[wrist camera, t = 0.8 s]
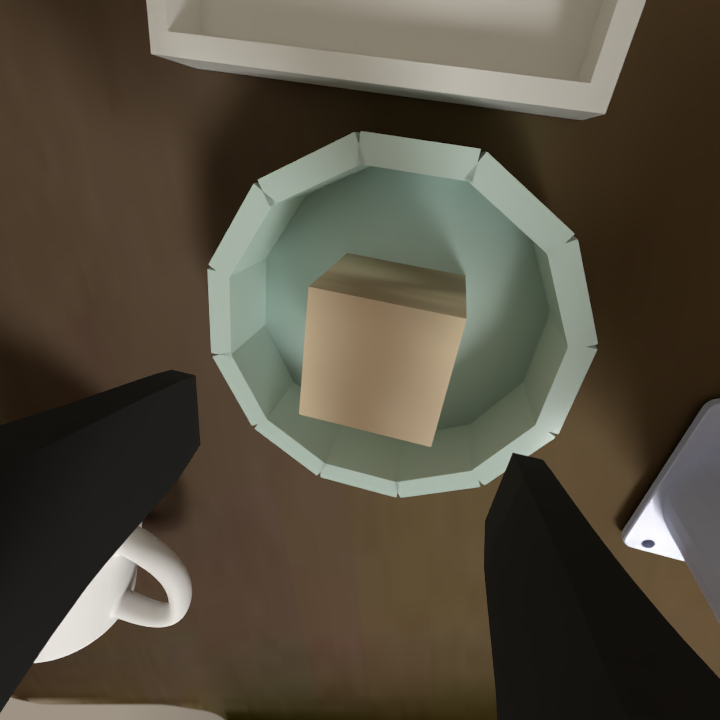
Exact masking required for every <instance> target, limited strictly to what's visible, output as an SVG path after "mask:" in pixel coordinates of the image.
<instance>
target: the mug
mask: <svg viewBox="0 0 720 720" xmlns="http://www.w3.org/2000/svg"><path fill="white" fill-rule="evenodd" d="M137 565H139V566H141V567H142V568H144V569H145V570H147V571H148V572H149V573H151V574H152V575H153V576H154V577H155V578H156V579H157V580H158V581H159V582H160V583H161V584H162V586H163V587H164V589H165V591H166V593H167V595H168V599H169V603H164V602H160V601H157V600H154V599H151V598H149V597H146V596H144V595H141V594H139V593H137V592H135V591H133V590H134V587H135V582H136V573H137ZM191 596H192V585H191V580H190V576H189V574H188V571H187V569H186V567H185V566H184V564H183V563H182V561H181V560H180V558H179V557H178V556H177V555H176V554H175V553H174V552H173V551H172V550H171V549H170V548H169V547H168V546H167V545H166V544H165V543H164V542H162V541H161V540H160V539H159V538H157V537H156V536H154V535H153V534H151V533H150V532H148V531H147V530H145V529H143V528H142V522H141V523H140V525H139V526H138V527H137V528H136V529H135V530H134V531H133V533H132V534H131V535H130V536H129V537H128V538H127V540H126V541H125V542H124V543H123V544H122V545H121V547H120V548H119V549H118V550H117V551H116V552H115V553H114V555H113V556H112V557H111V558H110V559H109V560H108V562H107V563H106V564H105V565H104V566H103V568H102V569H101V570H100V571H99V573H98V574H97V575H96V576H95V578H94V579H93V580H92V581H91V582H90V584H89V585H88V586H87V588H86V589H85V590H84V592H83V593H82V595H81V596H80V597H79V599H78V600H77V601H76V603H75V604H74V606H73V607H72V608H71V610H70V611H69V613H68V614H67V615H66V617H65V618H64V620H63V621H62V622H61V624H60V625H59V626H58V628H57V629H56V631H55V632H54V633H53V635H52V636H51V638H50V639H49V641H48V642H47V644H46V645H45V647H44V648H43V650H42V651H41V652H40V654H39V655H38V657H37V658H36V660H35V661H34V663H39V662H46V661H51V660H55V659H58V658H61V657H64V656H67V655H69V654H72V653H74V652H76V651H78V650H80V649H82V648H84V647H85V646H87V645H89V644H90V643H92V642H93V641H95V640H96V639H97V638H99V637H100V636H101V635H102V634H104V633H105V632H106V631H107V630H108V629H109V628H110V627H111V626H112V625H113V624H114V623H115V622H116V620H117V619H118V618H119V619H121V620H124V621H127V622H130V623H134V624H137V625H142V626H147V627H167V626H170V625H173V624H175V623H177V622H178V621H180V620H181V619H182V618H183V616H184V615H185V614H186V612H187V610H188V608H189V605H190V602H191Z"/></svg>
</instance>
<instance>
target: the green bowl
mask: <svg viewBox="0 0 720 720" xmlns="http://www.w3.org/2000/svg"><path fill="white" fill-rule="evenodd" d="M480 151H481V149H479V148H472V147H466V146H459V145H452V144H445V143H439V142H432V141H425V140H418V139H412V138H405V137H398V136H392V135H385V134H378V133H371V132H365V131H361V132H360V133H358V132H353V133H351V134H349V135H347V136H345V137H343V138H341V139H339V140H337V141H335V142H333V143H331V144H329V145H327V146H325V147H323V148H321V149H319V150H317V151H315V152H313V153H311V154H309V155H307V156H305V157H303V158H300V159H298V160H296V161H294V162H292V163H290V164H288V165H286V166H284V167H282V168H280V169H278V170H276V171H274V172H272V173H270V174H268V175H266V176H264V177H262V178H260V179H258V182H259V183H254V184H253V185H252V187H251V189H250V191H249V193H248V194H247V196H246V198H245V200H244V202H243V203H242V205H241V207H240V209H239V211H238V212H237V214H236V216H235V218H234V220H233V221H232V223H231V225H230V227H229V229H228V230H227V232H226V234H225V236H224V238H223V239H222V241H221V243H220V245H219V247H218V248H217V250H216V252H215V254H214V256H213V257H212V259H211V261H210V263H209V264H208V265H209V266H211V268H209V269H207V270H208V292H209V314H210V336H211V353H215V355H214V356H213V358H214V360H215V362H216V364H217V365H218V367H219V369H220V371H221V372H222V374H223V376H224V378H225V380H226V381H227V383H228V385H229V387H230V388H231V390H232V392H233V394H234V395H235V397H236V399H237V401H238V402H239V404H240V406H241V408H242V409H243V411H244V413H245V415H246V416H247V418H248V420H249V422H250V423H251V425H256V424H258V425H257V426H256V427H255V429H256V430H257V431H258V432H260V433H261V434H262V435H264V436H265V437H266V438H268V439H269V440H270V441H272V442H273V443H274V444H276V445H277V446H278V447H280V448H281V449H282V450H284V451H285V452H286V453H288V454H289V455H290V456H292V457H293V458H294V459H296V460H297V461H298V462H300V463H301V464H302V465H304V466H305V467H306V468H308V469H309V470H310V471H312V472H313V473H314V474H316V475H318V474H319V473H320V472H321V476H320V477H322V478H325V479H329V480H333V481H337V482H340V483H344V484H348V485H351V486H355V487H359V488H363V489H366V490H370V491H374V492H378V493H381V494H385V495H389V496H393V497H396V496H397V492H398V494H399V496H400V498H402V497H410V496H417V495H424V494H431V493H439V492H446V491H453V490H461V489H468V488H475V487H480V482H481V483H482V484H484V485H486V484H487V483H489V482H490V481H492V480H493V479H495V478H496V477H498V476H499V475H501V474H502V473H504V472H505V471H506V468H507V466H508V463H509V461H510V458H511V456H512V453H517V454H521V455H525V456H529V455H530V454H532V453H533V452H535V451H536V450H538V449H539V448H541V447H542V446H544V445H545V444H547V443H548V442H550V441H551V440H553V439H554V438H555V435H554V433H556V434H559V432H560V430H561V428H562V425H563V423H564V421H565V419H566V417H567V414H568V412H569V410H570V408H571V406H572V404H573V401H574V399H575V397H576V395H577V393H578V391H579V388H580V386H581V384H582V382H583V380H584V377H585V375H586V373H587V371H588V369H589V367H590V364H591V362H592V360H593V358H594V356H595V354H596V351H597V348H596V346H595V345H596V344H598V341H597V335H596V330H595V325H594V320H593V315H592V310H591V304H590V299H589V294H588V289H587V284H586V279H585V273H584V268H583V263H582V258H581V253H580V248H579V242H578V239H577V238H575V237H574V236H573V235H574V233H573V232H572V231H571V230H570V229H569V228H568V227H567V226H566V225H565V224H564V223H563V222H562V221H561V220H559V219H558V218H557V217H556V216H555V215H554V214H553V213H552V212H551V211H550V210H549V209H548V208H547V207H546V206H545V205H543V204H542V203H541V202H540V201H539V200H538V199H537V198H536V197H535V196H534V195H533V194H532V193H531V192H530V191H528V190H527V189H526V188H525V187H524V186H523V185H522V184H521V183H520V182H519V181H518V180H517V179H516V178H515V177H514V176H512V175H511V174H510V173H509V172H508V171H507V170H506V169H505V168H504V167H503V166H502V165H501V164H500V163H499V162H497V161H496V160H495V159H494V158H493V157H492V156H491V155H490V154H489V153H488V152H482V153H481V154H480ZM347 253H349V254H355V255H360V256H365V257H370V258H376V259H381V260H386V261H391V262H397V263H402V264H407V265H412V266H418V267H423V268H428V269H433V270H439V271H444V272H449V273H454V274H460V275H465V276H466V311H467V320H466V323H465V327H464V330H463V334H462V338H461V341H460V345H459V348H458V352H457V356H456V359H455V363H454V366H453V370H452V374H451V377H450V381H449V384H448V388H447V392H446V395H445V399H444V403H443V406H442V410H441V413H440V417H439V421H438V424H437V428H436V431H435V435H434V439H433V442H432V446H431V447H428V446H424V445H420V444H416V443H412V442H408V441H404V440H400V439H396V438H392V437H388V436H384V435H380V434H376V433H372V432H368V431H364V430H360V429H356V428H352V427H348V426H344V425H340V424H336V423H332V422H328V421H324V420H320V419H316V418H312V417H308V416H304V415H300V414H299V406H300V393H301V379H302V366H303V353H304V340H305V326H306V313H307V300H308V287H309V286H310V285H311V284H312V283H313V282H314V281H316V280H317V279H318V278H319V277H320V276H321V275H322V274H324V273H325V272H326V271H327V270H328V269H329V268H331V267H332V266H333V265H334V264H335V263H336V262H337V261H339V260H340V259H341V258H342V257H343V256H344V255H346V254H347Z"/></svg>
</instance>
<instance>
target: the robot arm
mask: <svg viewBox="0 0 720 720" xmlns="http://www.w3.org/2000/svg"><path fill="white" fill-rule="evenodd" d="M199 446H200V434H199V419H198V405H197V391H196V376H195V375H191V374H187V373H183V372H178V371H174V370H169V371H165V372H161V373H158V374H155V375H152V376H148V377H145V378H142V379H139V380H136V381H133V382H130V383H128V384H125V385H122V386H119V387H116V388H113V389H110V390H107V391H105V392H102V393H99V394H96V395H93V396H90V397H87V398H84V399H81V400H79V401H76V402H73V403H70V404H67V405H64V406H61V407H58V408H54V409H51V410H48V411H45V412H42V413H39V414H35V415H32V416H29V417H26V418H23V419H20V420H16V421H13V422H10V423H7V424H4V425H0V712H1V711H2V709H3V707H4V706H5V705H6V703H7V701H8V700H9V698H10V697H11V695H12V694H13V692H14V691H15V689H16V688H17V686H18V685H19V683H20V682H21V680H22V679H23V677H24V676H25V674H26V673H27V672H28V670H29V669H30V667H31V666H32V664H33V663H34V661H35V660H36V658H37V657H38V655H39V654H40V652H41V651H42V650H43V648H44V647H45V645H46V644H47V642H48V641H49V639H50V638H51V636H52V635H53V633H54V632H55V631H56V629H57V628H58V626H59V625H60V624H61V622H62V621H63V620H64V618H65V617H66V615H67V614H68V613H69V611H70V610H71V608H72V607H73V606H74V604H75V603H76V601H77V600H78V599H79V597H80V596H81V595H82V593H83V592H84V590H85V589H86V588H87V586H88V585H89V584H90V582H91V581H92V580H93V579H94V578H95V576H96V575H97V574H98V573H99V571H100V570H101V569H102V568H103V566H104V565H105V564H106V563H107V562H108V560H109V559H110V558H111V557H112V556H113V555H114V553H115V552H116V551H117V550H118V549H119V548H120V547H121V545H122V544H123V543H124V542H125V541H126V540H127V538H128V537H129V536H130V535H131V534H132V533H133V531H134V530H135V529H136V528H137V527H138V526H139V525H140V523H141V522H142V521H143V520H144V519H145V518H146V516H147V515H148V514H149V513H150V512H151V511H152V510H153V508H154V507H155V506H156V505H157V504H158V502H159V501H160V500H161V499H162V498H163V497H164V495H165V494H166V493H167V492H168V491H169V489H170V488H171V487H172V486H173V485H174V483H175V482H176V481H177V480H178V478H179V477H180V475H181V474H182V472H183V471H184V469H185V468H186V466H187V465H188V463H189V462H190V460H191V459H192V457H193V455H194V454H195V452H196V451H197V449H198V447H199ZM621 536H622V539H623V541H624V543H625V544H626V545H627V546H629V547H632V548H636V549H640V550H644V551H647V552H651V553H655V554H659V555H663V556H666V557H670V558H674V559H678V560H682V561H685V562H686V564H687V566H688V568H689V569H690V571H691V573H692V575H693V577H694V579H695V580H696V582H697V584H698V586H699V588H700V590H701V591H702V593H703V595H704V597H705V599H706V601H707V602H708V604H709V606H710V608H711V610H712V612H713V613H714V615H715V617H716V619H717V621H718V623H719V624H720V398H718V399H713V400H710V401H709V402H707V403H706V404H705V405H704V406H703V407H702V408H701V410H700V411H699V413H698V414H697V416H696V418H695V419H694V421H693V422H692V424H691V425H690V427H689V428H688V430H687V431H686V433H685V435H684V436H683V438H682V439H681V441H680V442H679V444H678V445H677V447H676V448H675V450H674V452H673V453H672V455H671V456H670V458H669V459H668V461H667V462H666V464H665V466H664V467H663V469H662V470H661V472H660V473H659V475H658V476H657V478H656V479H655V481H654V483H653V484H652V486H651V487H650V489H649V490H648V492H647V493H646V495H645V497H644V498H643V500H642V501H641V503H640V504H639V506H638V507H637V509H636V510H635V512H634V514H633V515H632V517H631V518H630V520H629V521H628V523H627V524H626V526H625V527H624V529H623V531H622V533H621ZM644 540H647V541H644ZM484 571H485V583H486V594H487V605H488V615H489V625H490V636H491V646H492V656H493V666H494V677H495V687H496V702H497V718H498V720H720V678H719V677H718V676H717V675H716V674H715V673H714V672H713V671H712V670H711V669H710V668H709V667H708V665H707V664H706V663H705V662H704V661H703V660H702V659H701V658H700V657H699V656H698V655H697V654H696V652H695V651H694V650H693V649H692V648H691V647H690V646H689V645H688V644H687V643H686V642H685V641H684V640H683V638H682V637H681V636H680V635H679V634H678V633H677V632H676V630H675V629H674V628H673V627H672V626H671V625H670V624H669V622H668V621H667V620H666V619H665V618H664V617H663V616H662V614H661V613H660V612H659V611H658V610H657V608H656V607H655V606H654V605H653V604H652V602H651V601H650V600H649V599H648V598H647V596H646V595H645V594H644V593H643V592H642V590H641V589H640V588H639V587H638V586H637V584H636V583H635V582H634V581H633V580H632V578H631V577H630V576H629V575H628V573H627V572H626V571H625V570H624V568H623V567H622V566H621V564H620V563H619V562H618V561H617V559H616V558H615V557H614V556H613V554H612V553H611V552H610V550H609V549H608V548H607V547H606V545H605V544H604V543H603V541H602V540H601V539H600V537H599V536H598V535H597V533H596V532H595V531H594V529H593V528H592V527H591V525H590V524H589V523H588V521H587V520H586V518H585V517H584V516H583V514H582V513H581V512H580V510H579V509H578V507H577V506H576V505H575V503H574V502H573V501H572V499H571V498H570V496H569V495H568V494H567V492H566V491H565V489H564V488H563V487H562V485H561V484H560V482H559V481H558V480H557V478H556V477H555V475H554V474H553V473H552V471H551V470H550V469H549V467H548V466H547V465H546V463H545V462H544V461H543V460H541V459H537V458H533V457H529V456H525V455H521V454H517V453H512V456H511V458H510V461H509V463H508V466H507V468H506V471H505V473H504V475H503V478H502V480H501V483H500V485H499V488H498V490H497V493H496V495H495V498H494V500H493V503H492V505H491V508H490V510H489V513H488V515H487V518H486V520H485V545H484Z"/></svg>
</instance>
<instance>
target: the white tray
mask: <svg viewBox="0 0 720 720" xmlns="http://www.w3.org/2000/svg"><path fill="white" fill-rule="evenodd" d="M645 2H646V0H146V3H147V14H148V25H149V36H150V47H151V54H153V55H156V56H159V57H162V58H165V59H168V60H172V61H175V62H178V63H181V64H184V65H187V66H190V67H194V68H197V69H204V70H212V71H219V72H227V73H234V74H241V75H249V76H256V77H264V78H271V79H278V80H286V81H293V82H301V83H308V84H315V85H323V86H330V87H338V88H345V89H352V90H360V91H367V92H375V93H382V94H389V95H397V96H404V97H412V98H419V99H427V100H434V101H441V102H449V103H456V104H464V105H471V106H478V107H486V108H493V109H501V110H508V111H515V112H523V113H530V114H538V115H545V116H552V117H560V118H567V119H575V120H585V119H589V118H593V117H596V116H600V115H604V114H605V113H606V111H607V108H608V105H609V102H610V99H611V97H612V94H613V91H614V88H615V86H616V83H617V80H618V77H619V74H620V72H621V69H622V66H623V63H624V60H625V58H626V55H627V52H628V49H629V47H630V44H631V41H632V38H633V35H634V33H635V30H636V27H637V24H638V21H639V19H640V16H641V13H642V10H643V8H644V5H645Z"/></svg>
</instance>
